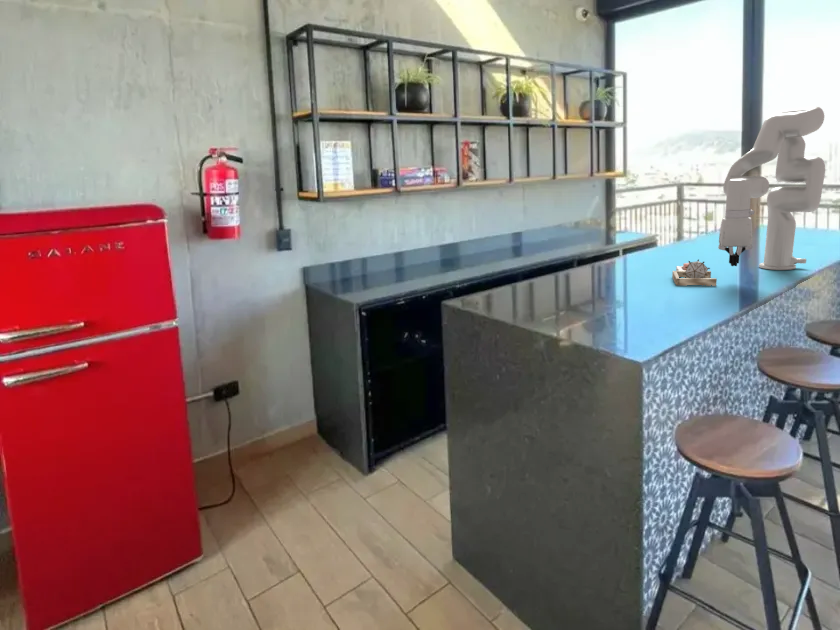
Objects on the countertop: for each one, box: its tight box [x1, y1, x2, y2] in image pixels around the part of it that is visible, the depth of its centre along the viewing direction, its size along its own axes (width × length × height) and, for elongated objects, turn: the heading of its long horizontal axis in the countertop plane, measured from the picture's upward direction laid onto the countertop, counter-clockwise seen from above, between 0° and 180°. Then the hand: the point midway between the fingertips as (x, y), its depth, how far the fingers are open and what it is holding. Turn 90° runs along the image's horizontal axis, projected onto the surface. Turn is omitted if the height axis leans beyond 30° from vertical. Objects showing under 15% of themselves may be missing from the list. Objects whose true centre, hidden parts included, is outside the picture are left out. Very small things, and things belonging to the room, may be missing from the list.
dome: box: [682, 262, 689, 270], centre depth 226 cm, size 6×6×3 cm
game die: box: [683, 259, 711, 278], centre depth 213 cm, size 9×8×10 cm
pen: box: [671, 270, 718, 287], centre depth 215 cm, size 13×15×2 cm
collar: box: [675, 265, 686, 271], centre depth 226 cm, size 10×10×2 cm
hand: (733, 265), depth 210 cm, fingers closed
